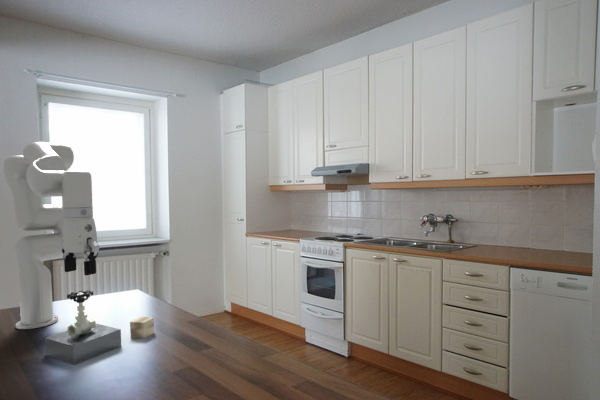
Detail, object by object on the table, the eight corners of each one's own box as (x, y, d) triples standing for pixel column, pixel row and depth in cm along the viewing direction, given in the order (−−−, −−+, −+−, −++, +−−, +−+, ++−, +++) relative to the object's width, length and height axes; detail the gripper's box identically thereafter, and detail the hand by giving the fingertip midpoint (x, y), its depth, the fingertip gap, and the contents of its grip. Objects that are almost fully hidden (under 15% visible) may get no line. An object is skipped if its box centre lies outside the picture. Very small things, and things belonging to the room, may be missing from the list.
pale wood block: (130, 337, 123) (129, 321, 123) (141, 331, 128) (140, 316, 128) (144, 338, 122) (143, 322, 122) (154, 332, 126) (153, 317, 126)
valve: (63, 337, 110) (61, 295, 110) (83, 329, 117) (81, 289, 116) (81, 339, 108) (79, 296, 108) (100, 331, 115) (98, 290, 114)
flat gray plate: (45, 355, 111) (44, 337, 111) (93, 338, 123) (92, 322, 123) (74, 364, 104) (73, 346, 104) (121, 346, 116) (120, 329, 116)
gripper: (108, 213, 111) (110, 273, 112) (73, 212, 120) (75, 267, 121) (82, 215, 105) (85, 278, 106) (47, 214, 114) (50, 272, 114)
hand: (80, 272), depth 113 cm, fingers open, 9 cm apart
